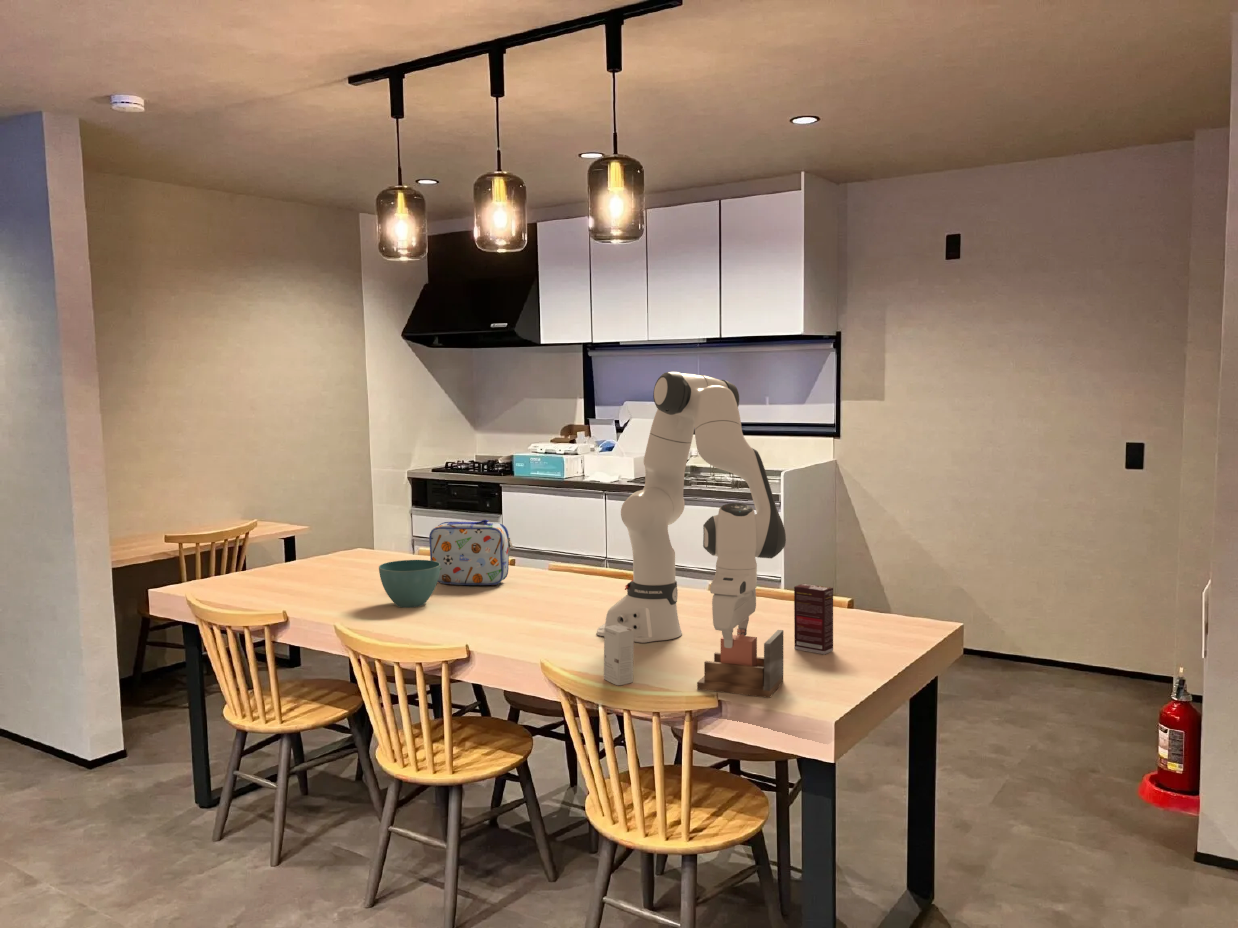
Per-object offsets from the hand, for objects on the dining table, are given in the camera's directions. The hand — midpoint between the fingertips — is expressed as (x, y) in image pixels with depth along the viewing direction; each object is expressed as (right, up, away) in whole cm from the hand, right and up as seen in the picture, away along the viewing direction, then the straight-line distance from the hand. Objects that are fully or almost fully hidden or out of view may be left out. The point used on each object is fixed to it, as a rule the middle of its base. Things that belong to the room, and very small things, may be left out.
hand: (735, 641), depth 208 cm
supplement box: (+23, -7, +27) cm, 36 cm away
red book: (+1, -8, +1) cm, 8 cm away
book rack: (+1, -10, +1) cm, 10 cm away
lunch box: (-75, -2, +112) cm, 134 cm away
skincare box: (-25, -10, +5) cm, 28 cm away
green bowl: (-89, -4, +82) cm, 121 cm away
